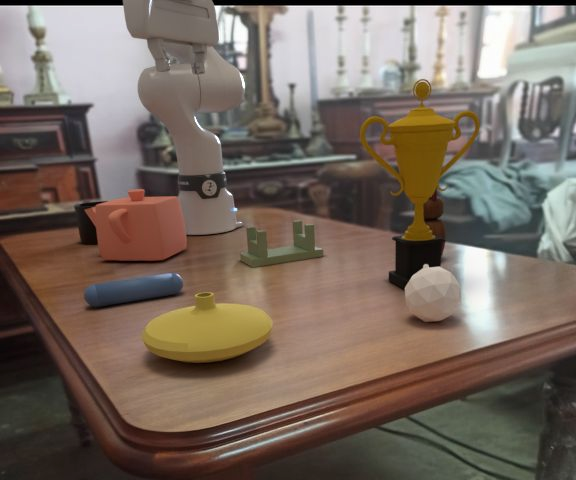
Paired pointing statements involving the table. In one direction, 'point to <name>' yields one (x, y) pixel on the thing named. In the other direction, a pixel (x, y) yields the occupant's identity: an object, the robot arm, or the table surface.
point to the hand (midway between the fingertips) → (181, 73)
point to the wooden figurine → (435, 217)
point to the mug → (86, 223)
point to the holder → (264, 256)
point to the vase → (207, 331)
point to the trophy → (418, 176)
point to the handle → (133, 289)
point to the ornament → (432, 294)
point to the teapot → (139, 227)
